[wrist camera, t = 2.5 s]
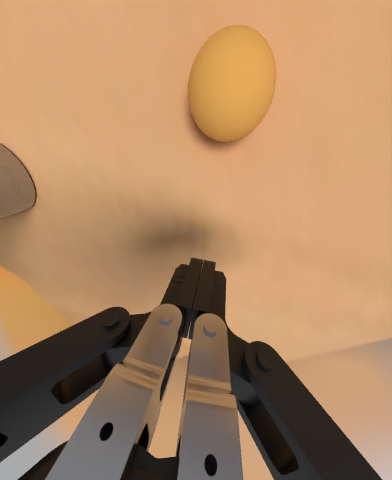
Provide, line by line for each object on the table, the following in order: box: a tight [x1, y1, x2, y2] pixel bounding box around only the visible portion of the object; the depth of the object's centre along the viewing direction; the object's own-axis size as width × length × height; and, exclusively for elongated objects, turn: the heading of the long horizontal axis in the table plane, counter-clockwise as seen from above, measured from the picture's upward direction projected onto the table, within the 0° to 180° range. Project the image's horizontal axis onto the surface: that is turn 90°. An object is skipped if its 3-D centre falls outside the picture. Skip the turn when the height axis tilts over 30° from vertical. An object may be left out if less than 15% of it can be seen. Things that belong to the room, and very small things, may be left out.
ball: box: [188, 25, 276, 142], centre depth 12 cm, size 6×6×6 cm
